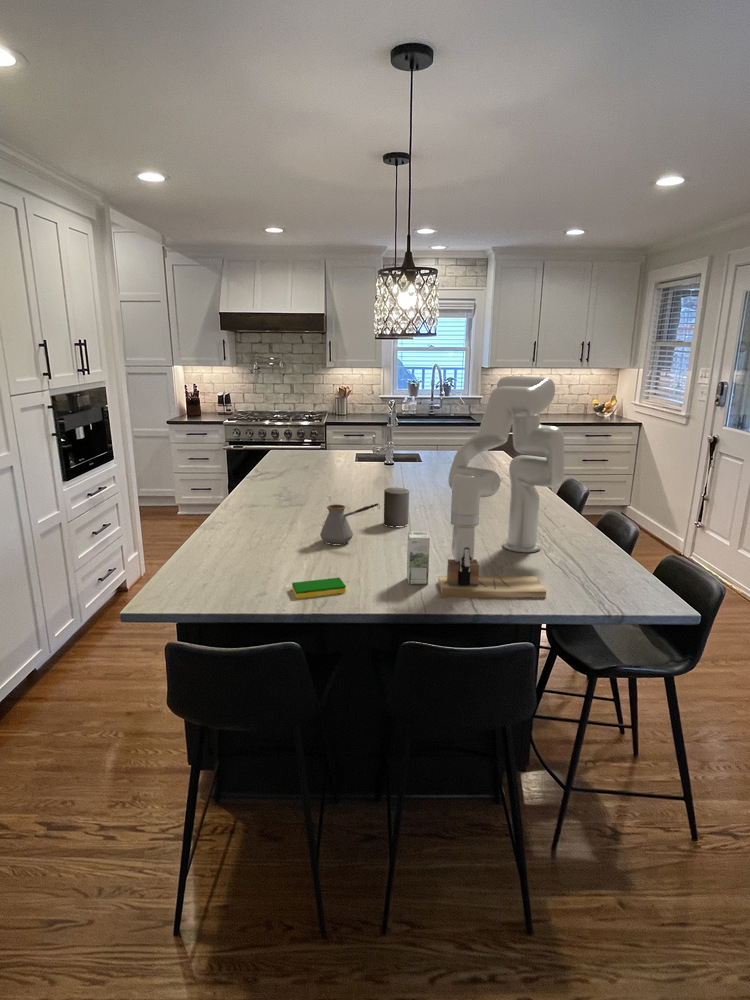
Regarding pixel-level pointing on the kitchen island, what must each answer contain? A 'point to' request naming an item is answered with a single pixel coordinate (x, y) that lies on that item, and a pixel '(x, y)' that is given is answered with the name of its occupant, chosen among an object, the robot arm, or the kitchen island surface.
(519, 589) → the board
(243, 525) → the kitchen island surface
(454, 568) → the block
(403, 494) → the pillar candle
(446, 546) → the kitchen island surface
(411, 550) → the syrup box
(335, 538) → the coffee pot
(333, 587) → the dish sponge
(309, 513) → the kitchen island surface
